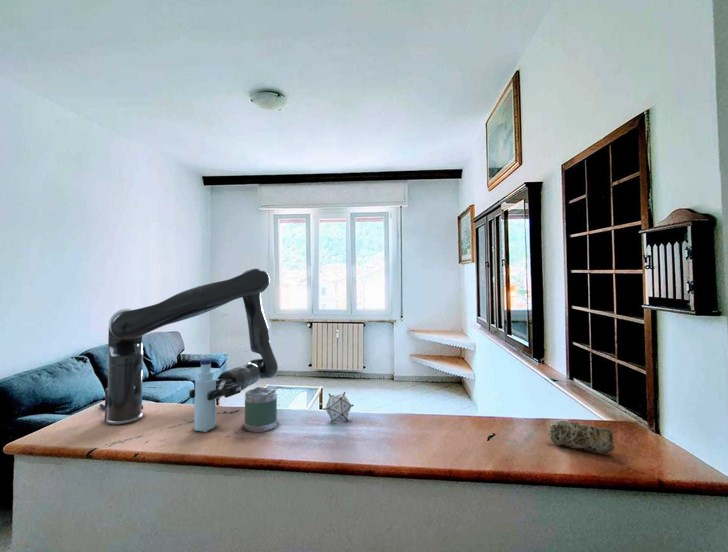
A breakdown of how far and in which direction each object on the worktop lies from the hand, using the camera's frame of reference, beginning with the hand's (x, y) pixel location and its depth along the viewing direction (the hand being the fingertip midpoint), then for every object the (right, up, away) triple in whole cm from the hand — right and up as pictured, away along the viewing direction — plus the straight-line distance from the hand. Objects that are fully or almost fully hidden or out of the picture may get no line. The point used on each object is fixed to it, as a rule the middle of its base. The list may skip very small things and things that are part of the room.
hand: (199, 395), depth 113 cm
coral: (+101, -10, -11) cm, 102 cm away
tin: (+16, -10, +4) cm, 20 cm away
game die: (+39, -11, +8) cm, 41 cm away
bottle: (+1, -10, +2) cm, 10 cm away
